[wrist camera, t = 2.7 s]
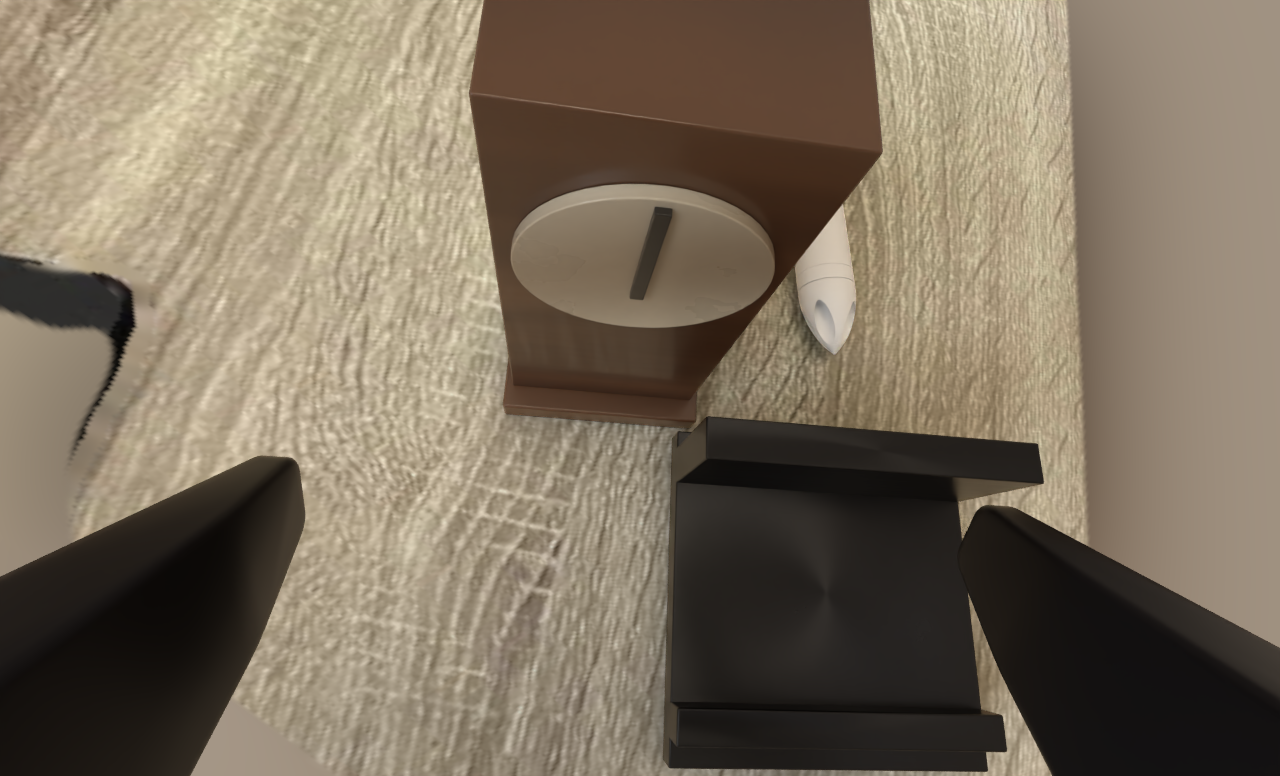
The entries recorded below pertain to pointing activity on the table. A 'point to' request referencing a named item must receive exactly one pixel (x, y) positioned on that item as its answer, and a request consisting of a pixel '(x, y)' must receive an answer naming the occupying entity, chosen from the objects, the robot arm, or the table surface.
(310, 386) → the table surface
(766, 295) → the clock
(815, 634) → the clock rack
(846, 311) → the marker
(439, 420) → the table surface
